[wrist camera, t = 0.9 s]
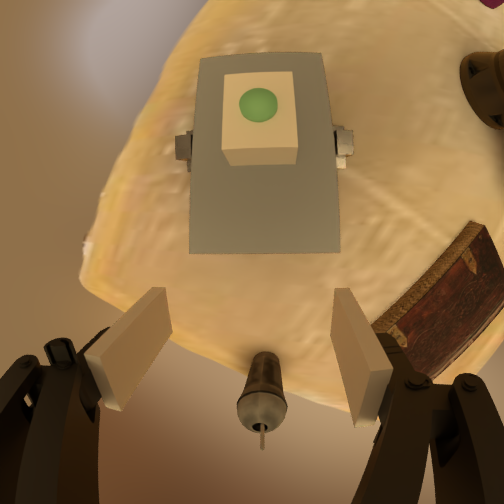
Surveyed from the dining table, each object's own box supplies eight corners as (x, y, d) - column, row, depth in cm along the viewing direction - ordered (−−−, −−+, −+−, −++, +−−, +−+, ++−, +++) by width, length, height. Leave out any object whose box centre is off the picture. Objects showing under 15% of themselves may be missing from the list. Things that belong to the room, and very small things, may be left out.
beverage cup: (238, 366, 47) (217, 455, 28) (258, 338, 46) (245, 430, 26) (272, 382, 48) (267, 471, 29) (295, 356, 46) (299, 448, 27)
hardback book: (404, 384, 47) (412, 399, 42) (354, 336, 45) (361, 352, 40) (501, 287, 39) (514, 296, 35) (468, 220, 37) (485, 225, 32)
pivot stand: (189, 132, 38) (172, 125, 31) (341, 128, 36) (354, 118, 29) (194, 235, 42) (179, 246, 35) (342, 233, 40) (355, 245, 33)
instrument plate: (202, 68, 33) (187, 32, 25) (321, 63, 31) (327, 24, 23) (193, 254, 32) (166, 253, 24) (337, 253, 31) (357, 251, 23)
